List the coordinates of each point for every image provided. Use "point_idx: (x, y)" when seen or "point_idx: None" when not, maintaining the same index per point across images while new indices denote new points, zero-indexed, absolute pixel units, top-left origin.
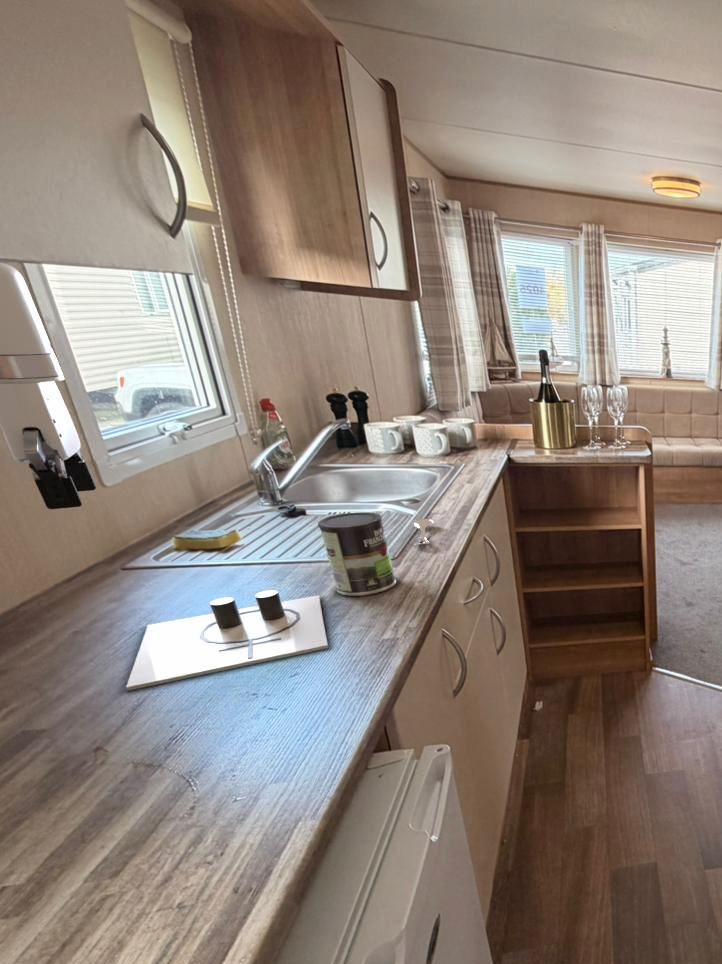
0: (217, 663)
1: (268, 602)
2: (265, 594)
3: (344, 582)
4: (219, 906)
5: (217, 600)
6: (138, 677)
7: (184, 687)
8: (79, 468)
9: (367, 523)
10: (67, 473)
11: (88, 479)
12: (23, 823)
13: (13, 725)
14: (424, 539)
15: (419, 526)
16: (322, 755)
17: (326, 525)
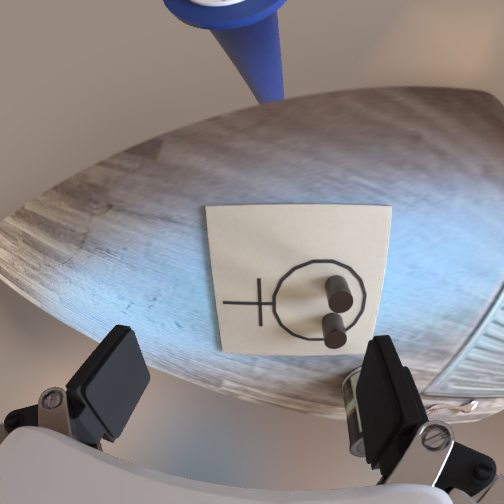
0: (224, 278)
1: (323, 336)
2: (333, 339)
3: (356, 381)
4: (13, 274)
5: (347, 298)
6: (226, 213)
7: (190, 251)
8: (369, 445)
9: (352, 453)
10: (379, 409)
11: (360, 415)
12: (54, 191)
13: (178, 129)
14: (442, 408)
15: (464, 407)
16: (75, 319)
17: None
